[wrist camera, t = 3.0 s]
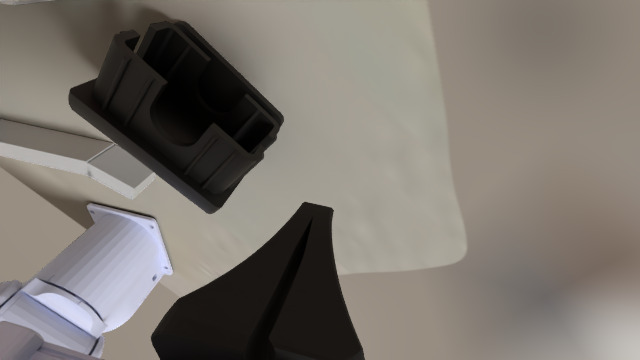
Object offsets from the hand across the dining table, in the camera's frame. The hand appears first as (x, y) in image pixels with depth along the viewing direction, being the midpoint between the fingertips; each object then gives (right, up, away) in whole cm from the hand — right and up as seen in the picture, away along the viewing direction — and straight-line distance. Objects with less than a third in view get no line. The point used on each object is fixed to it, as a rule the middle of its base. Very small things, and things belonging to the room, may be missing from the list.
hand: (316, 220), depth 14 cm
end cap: (-8, +8, +9) cm, 14 cm away
